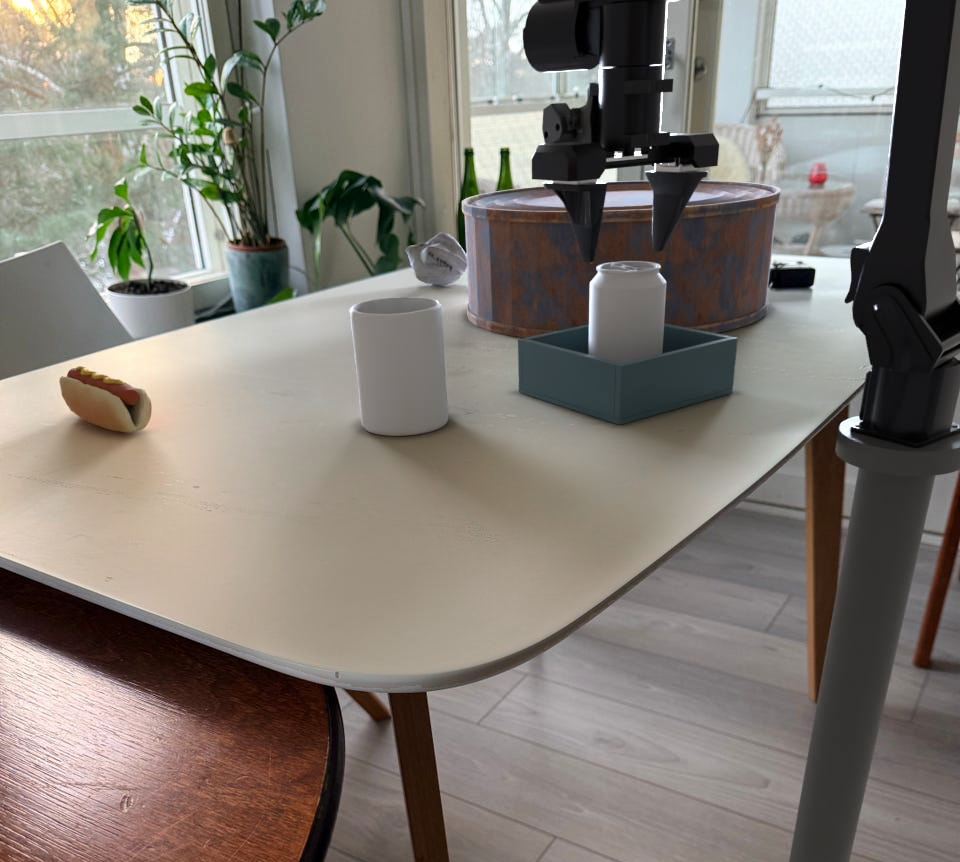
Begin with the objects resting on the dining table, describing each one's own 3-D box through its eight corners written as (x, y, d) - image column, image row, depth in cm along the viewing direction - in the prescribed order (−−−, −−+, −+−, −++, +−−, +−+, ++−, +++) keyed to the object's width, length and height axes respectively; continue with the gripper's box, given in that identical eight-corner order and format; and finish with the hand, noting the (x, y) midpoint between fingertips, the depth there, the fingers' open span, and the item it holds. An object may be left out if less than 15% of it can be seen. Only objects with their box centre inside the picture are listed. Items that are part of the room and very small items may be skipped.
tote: (732, 393, 93) (738, 337, 90) (619, 425, 85) (621, 366, 83) (626, 365, 104) (628, 315, 101) (518, 392, 96) (517, 338, 94)
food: (56, 416, 96) (43, 368, 93) (106, 404, 99) (94, 358, 97) (115, 443, 87) (102, 391, 85) (168, 428, 91) (157, 378, 88)
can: (643, 400, 90) (649, 271, 84) (575, 392, 94) (576, 268, 87) (671, 382, 95) (679, 259, 89) (606, 374, 99) (609, 256, 93)
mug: (431, 438, 84) (422, 315, 79) (347, 433, 87) (333, 313, 81) (471, 402, 94) (465, 290, 88) (394, 398, 96) (385, 289, 91)
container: (631, 273, 157) (634, 176, 150) (835, 307, 126) (852, 187, 118) (414, 308, 138) (405, 200, 131) (589, 359, 107) (592, 220, 99)
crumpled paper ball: (399, 289, 154) (395, 238, 150) (413, 280, 161) (409, 231, 157) (463, 288, 152) (461, 236, 147) (474, 279, 159) (472, 229, 155)
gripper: (643, 69, 91) (636, 239, 99) (492, 74, 82) (497, 260, 90) (730, 63, 83) (714, 248, 91) (573, 68, 74) (571, 272, 82)
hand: (624, 256), depth 88 cm, fingers open, 9 cm apart
